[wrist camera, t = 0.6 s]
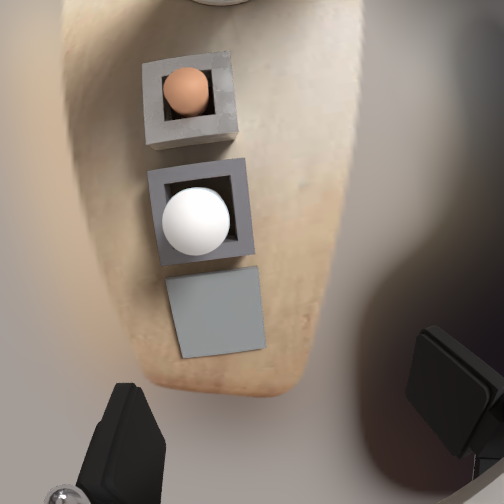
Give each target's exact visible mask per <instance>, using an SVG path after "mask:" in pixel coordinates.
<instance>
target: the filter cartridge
mask: <svg viewBox="0 0 504 504" xmlns="http://www.w3.org/2000/svg"><path fill="white" fill-rule="evenodd" d="M162 226H163V231H164V234H165V237H166V238H167V240H168V242H169V243H170V244H171V245H172V246H173V247H174V248H175V249H176V250H178V251H180V252H182V253H184V254H187V255H195V256H196V255H204V254H207V253H209V252H211V251H213V250H215V249H216V248H217V247H219V246H220V245H221V244H222V242H223V241H224V240H225V238H226V236H227V234H228V231H229V226H230V217H229V212H228V209H227V207H226V205H225V203H224V201H223V199H222V198H221V196H220V195H219V194H218V193H217V192H216V191H214V190H213V189H210V188H206V187H200V188H199V187H195V188H188V189H185V190H182V191H180V192H178V193H177V194H175V195H174V196H173V197H172V198H171V199H170V200H169V202H168V203H167V205H166V207H165V209H164V212H163V217H162Z"/></svg>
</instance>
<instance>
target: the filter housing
mask: <svg viewBox="0 0 504 504" xmlns="http://www.w3.org/2000/svg"><path fill="white" fill-rule="evenodd" d="M147 175H148V184H149V192H150V200H151V207H152V214H153V221H154V228H155V234H156V240H157V246H158V252H159V258H160V263H161V266H167V265H175V264H182V263H190V262H198V261H206V260H213V259H221V258H229V257H237V256H244V255H252V254H255V248H254V239H253V229H252V220H251V210H250V201H249V191H248V182H247V172H246V163H245V158H237V159H227V160H219V161H210V162H203V163H195V164H188V165H181V166H175V167H168V168H162V169H156V170H150V171H147ZM224 176H229V180H230V189H231V198H232V207H233V216H234V224H235V233H236V234H235V235H227V236H226V238H225V240H224V241H223V242H222V244H221V245H220V246H219V247H217V248H216V249H215V250H213V251H211V252H209V253H207V254H204V255H196V256H195V255H187V254H184V253H182V252H180V251H178V250H176V249H175V248H174V247H173V246H172V245H171V244H170V243H169V242H168V240H167V238H166V237H165V234H164V231H163V226H162V217H163V212H164V209H165V207H166V205H167V203H168V202H169V200H170V199H171V198H172V196H171V188H170V184H173V183H179V182H186V181H193V180H200V179H208V178H216V177H224Z"/></svg>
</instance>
